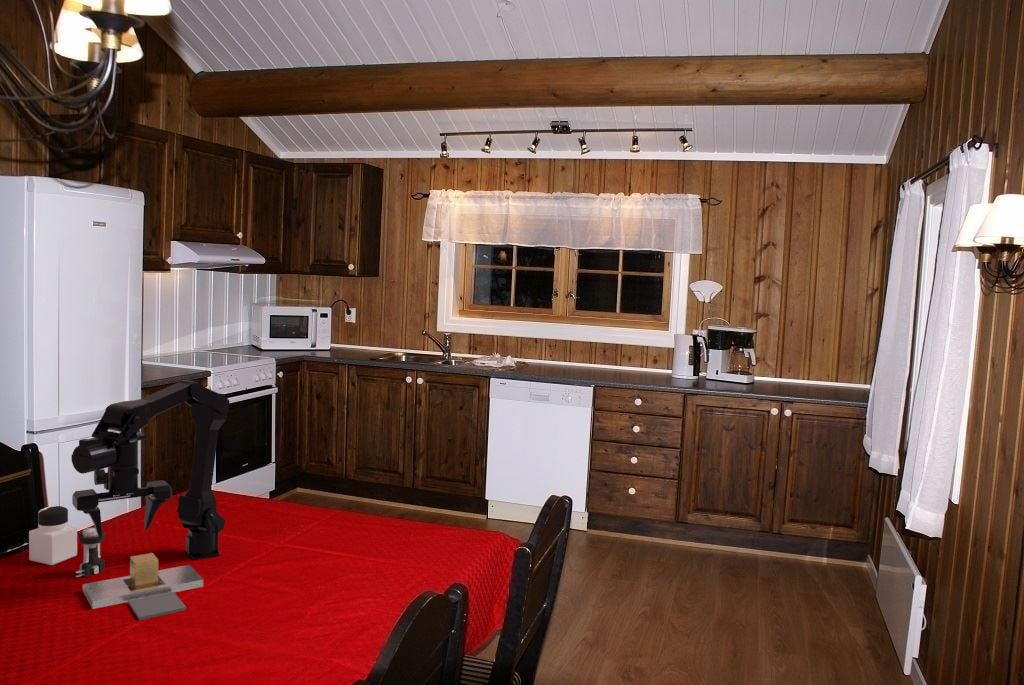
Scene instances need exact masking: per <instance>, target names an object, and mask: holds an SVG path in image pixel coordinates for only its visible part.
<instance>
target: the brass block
mask: <svg viewBox="0 0 1024 685" xmlns="http://www.w3.org/2000/svg"><path fill="white" fill-rule="evenodd" d="M158 570H159V558H158V557H157V556H156V554H154V553H153V552H149V553H145V554H138V555H132V556H129V576H130V585H129V589H130V591H134V590H139V589H144V588H149V587H154V586H159V582H158Z"/></svg>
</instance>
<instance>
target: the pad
mask: <svg viewBox="0 0 1024 685" xmlns="http://www.w3.org/2000/svg"><path fill="white" fill-rule="evenodd" d="M127 603H128V606H130V609H131V610H132V611H133V613H134V614H135V616H136V618H137V619H138V620H139V621H143V620H147V619H152V618H157V617H161V616H165V615H169V614H174V613H179V612H183V611H187V606H186V605H185V604H184V602H182V600H181V599H180V598H179V597H178V595H177V593H176V592H170V593H165V594H160V595H155V596H150V597H146V598H141V599H136V600H131V601H128V602H127Z"/></svg>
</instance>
